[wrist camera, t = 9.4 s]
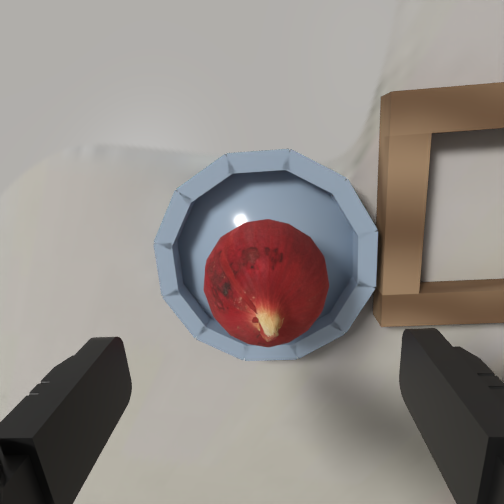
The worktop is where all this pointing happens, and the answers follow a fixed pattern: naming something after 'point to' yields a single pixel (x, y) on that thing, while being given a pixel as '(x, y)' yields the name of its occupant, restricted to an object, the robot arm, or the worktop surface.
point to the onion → (266, 282)
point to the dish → (259, 208)
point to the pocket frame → (414, 206)
